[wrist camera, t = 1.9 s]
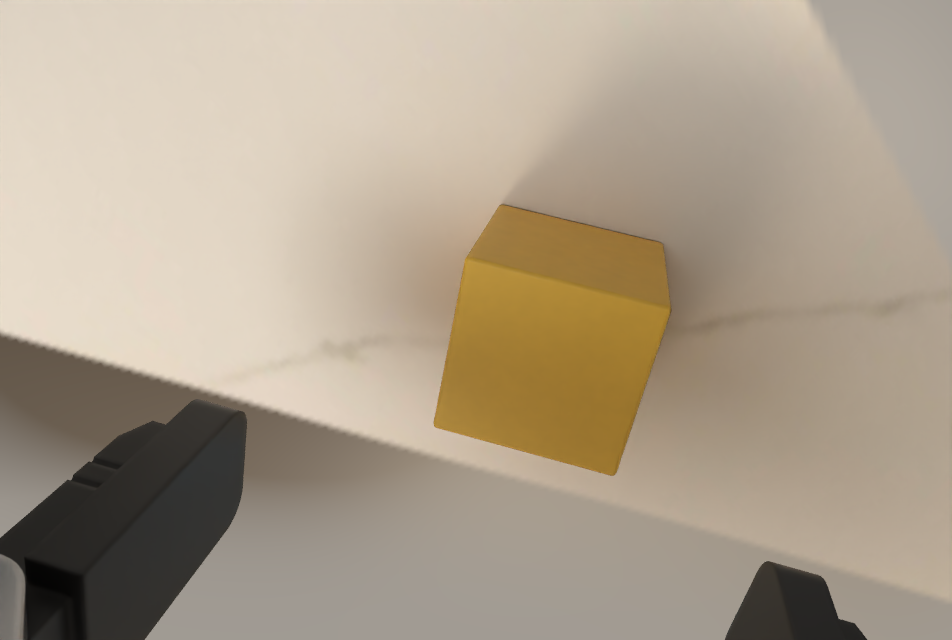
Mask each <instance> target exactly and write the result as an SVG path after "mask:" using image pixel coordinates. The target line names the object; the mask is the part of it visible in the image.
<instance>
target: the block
mask: <svg viewBox="0 0 952 640" xmlns="http://www.w3.org/2000/svg"><path fill="white" fill-rule="evenodd" d="M670 313H671V304H670V296H669V288H668V280H667V272H666V264H665V255H664V247H663V244H662V243H659V242H655V241H651V240H647V239H642V238H638V237H634V236H630V235H626V234H622V233H618V232H613V231H609V230H605V229H601V228H597V227H593V226H588V225H584V224H580V223H576V222H572V221H568V220H564V219H559V218H555V217H551V216H547V215H543V214H539V213H534V212H530V211H526V210H522V209H518V208H514V207H510V206H505V205H500V206H499V207H498V209H497V210H496V212H495V213H494V215H493V216H492V218H491V220H490V221H489V223H488V224H487V226H486V227H485V229H484V231H483V232H482V234H481V235H480V237H479V238H478V240H477V241H476V243H475V245H474V246H473V248H472V249H471V251H470V252H469V254H468V256H467V257H466V259H465V263H464V268H463V273H462V278H461V283H460V289H459V294H458V299H457V304H456V309H455V314H454V320H453V325H452V330H451V335H450V340H449V346H448V351H447V356H446V361H445V366H444V372H443V377H442V382H441V387H440V392H439V397H438V403H437V408H436V413H435V418H434V426H435V427H436V428H440V429H443V430H447V431H450V432H454V433H458V434H461V435H465V436H469V437H472V438H476V439H480V440H483V441H487V442H491V443H494V444H498V445H502V446H505V447H509V448H512V449H516V450H520V451H523V452H527V453H531V454H534V455H538V456H542V457H545V458H549V459H553V460H556V461H560V462H563V463H567V464H571V465H574V466H578V467H582V468H585V469H589V470H593V471H596V472H600V473H604V474H607V475H611V476H614V475H615V474H616V473H617V470H618V467H619V464H620V461H621V458H622V455H623V452H624V449H625V446H626V443H627V440H628V437H629V434H630V431H631V428H632V425H633V422H634V419H635V416H636V414H637V411H638V408H639V405H640V402H641V399H642V396H643V393H644V390H645V387H646V384H647V381H648V378H649V375H650V372H651V369H652V366H653V363H654V360H655V357H656V354H657V351H658V349H659V346H660V343H661V340H662V337H663V334H664V331H665V328H666V325H667V322H668V319H669V316H670Z"/></svg>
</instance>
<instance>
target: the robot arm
mask: <svg viewBox="0 0 952 640" xmlns="http://www.w3.org/2000/svg"><path fill="white" fill-rule="evenodd" d="M246 429H247V419H246V415H245V413H244V412H242V411H239V410H236V409H232V408H228V407H225V406H221V405H218V404H214V403H211V402H207V401H203V400H200V399H196V400H193V401H191V402H190V403H189V404H188V405H187V406H186V407H185V408H184V409H182V410H181V412H179V413H178V414H177V415H176V416H175V417H174V418H173V419H172V420H171V421H170V422H169V423H167V424H166V425H165V424H162V423H158V422H155V421H151V422H149V423H147V424H145V425H142V426H140V427H138V428H135V429H133V430H131V431H129V432H127V433H124V434H122V435H120V436H118V437H117V438H116V439H114V440H113V441H112V442H111V443H110V444H109V445H108V446H106V447H105V448H104V449H103V450H102V451H101V452H99V453H98V454H97V455H96V456H95V457H94V460H93V461H92V462H88V463H87V464H86V465H84V466H83V467H82V468H81V469H80V470H79V471H77V472H76V473H75V474H74V475H73V478H72V480H71V481H70V480H67V481H66V482H65V483H63V484H62V485H61V486H60V487H59V488H58V489H57V490H55V491H54V492H53V493H52V494H51V495H50V496H48V498H46V499H45V500H44V501H43V502H41V503H40V504H39V505H38V506H37V507H36V508H34V509H33V510H32V511H31V512H30V513H29V514H28V515H26V516H25V517H24V518H23V519H22V520H21V521H19V522H18V523H17V524H16V525H15V526H14V527H12V528H11V529H10V530H9V531H8V532H7V533H6V534H4V535H3V536H2V537H1V538H0V640H145V638H146V637H147V636H148V634H149V633H150V632H151V630H152V629H153V628H154V626H155V625H156V624H157V622H158V621H159V620H160V618H161V617H162V616H163V614H164V613H165V612H166V610H167V609H168V608H169V606H170V605H171V604H172V602H173V601H174V599H175V598H176V597H177V596H178V594H179V593H180V592H181V590H182V589H183V587H184V586H185V585H186V584H187V582H188V581H189V580H190V578H191V577H192V576H193V574H194V573H195V572H196V570H197V569H198V568H199V566H200V565H201V564H202V562H203V561H204V560H205V558H206V557H207V556H208V554H209V553H210V552H211V550H212V549H213V548H214V546H215V545H216V544H217V542H218V541H219V540H220V538H221V537H222V535H223V534H224V533H225V532H226V530H227V529H228V527H229V526H230V524H231V522H232V520H233V518H234V516H235V514H236V512H237V509H238V506H239V503H240V499H241V495H242V488H243V474H244V459H245V443H246ZM725 640H867V639H866V638H865V636H864V635H863V634H862V632H861V631H860V630H859V628H858V627H857V626H856V625H855V624H854V623H851V622H847V621H844V620H840V619H838V616H837V613H836V610H835V607H834V604H833V601H832V598H831V596H830V592H829V589H828V586H827V584H826V582H825V580H824V579H823V578H822V577H821V576H819V575H816V574H812V573H809V572H805V571H801V570H798V569H795V568H791V567H787V566H783V565H780V564H776V563H773V562H769V561H767V562H765V563H763V564H762V566H761V567H760V568H759V570H758V572H757V573H756V575H755V578H754V580H753V582H752V584H751V586H750V588H749V590H748V592H747V594H746V596H745V598H744V600H743V602H742V604H741V606H740V608H739V610H738V612H737V614H736V616H735V618H734V620H733V622H732V624H731V626H730V628H729V631H728V633H727V635H726V638H725Z"/></svg>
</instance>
